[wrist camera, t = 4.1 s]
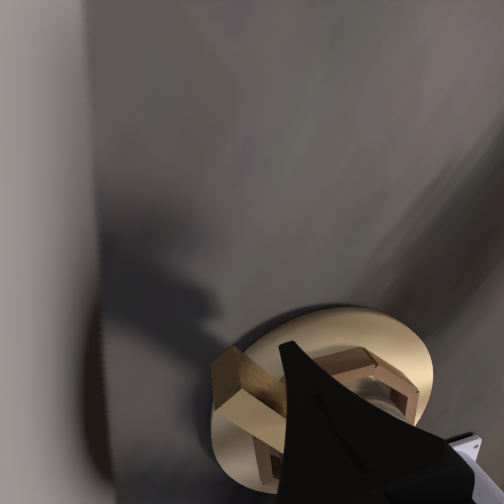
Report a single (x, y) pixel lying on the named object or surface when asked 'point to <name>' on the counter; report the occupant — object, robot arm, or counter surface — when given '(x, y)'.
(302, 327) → the board
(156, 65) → the counter surface
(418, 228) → the counter surface
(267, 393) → the milk pan
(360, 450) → the robot arm
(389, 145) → the counter surface
